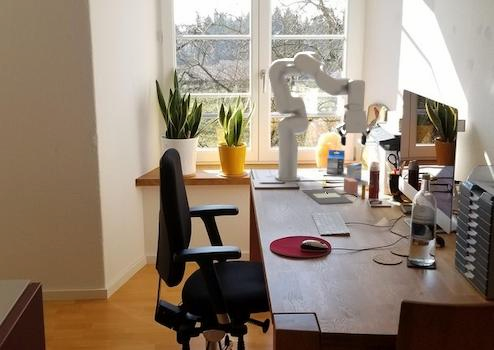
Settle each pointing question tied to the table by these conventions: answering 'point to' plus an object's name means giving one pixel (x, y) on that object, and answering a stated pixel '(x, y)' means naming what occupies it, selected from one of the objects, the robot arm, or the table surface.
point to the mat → (327, 196)
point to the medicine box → (354, 171)
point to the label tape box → (335, 162)
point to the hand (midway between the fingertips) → (353, 144)
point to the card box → (350, 186)
